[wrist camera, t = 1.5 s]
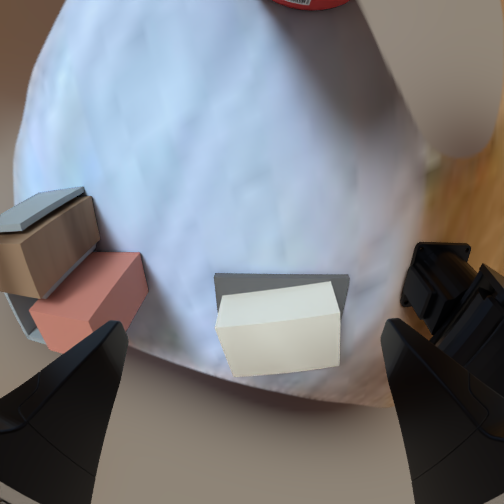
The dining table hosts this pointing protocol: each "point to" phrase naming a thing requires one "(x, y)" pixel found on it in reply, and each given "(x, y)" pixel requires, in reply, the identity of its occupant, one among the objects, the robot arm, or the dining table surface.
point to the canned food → (311, 4)
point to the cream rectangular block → (280, 330)
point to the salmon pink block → (91, 298)
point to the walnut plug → (47, 248)
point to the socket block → (18, 221)
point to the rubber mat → (277, 284)
